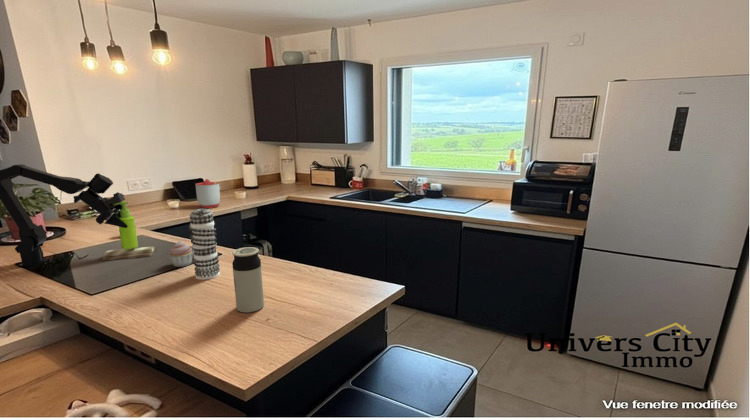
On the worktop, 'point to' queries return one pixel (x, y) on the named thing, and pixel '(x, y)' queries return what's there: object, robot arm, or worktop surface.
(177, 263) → the cupcake
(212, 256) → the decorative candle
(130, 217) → the soap dispenser
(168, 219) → the worktop surface
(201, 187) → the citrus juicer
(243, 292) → the travel mug
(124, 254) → the bar
